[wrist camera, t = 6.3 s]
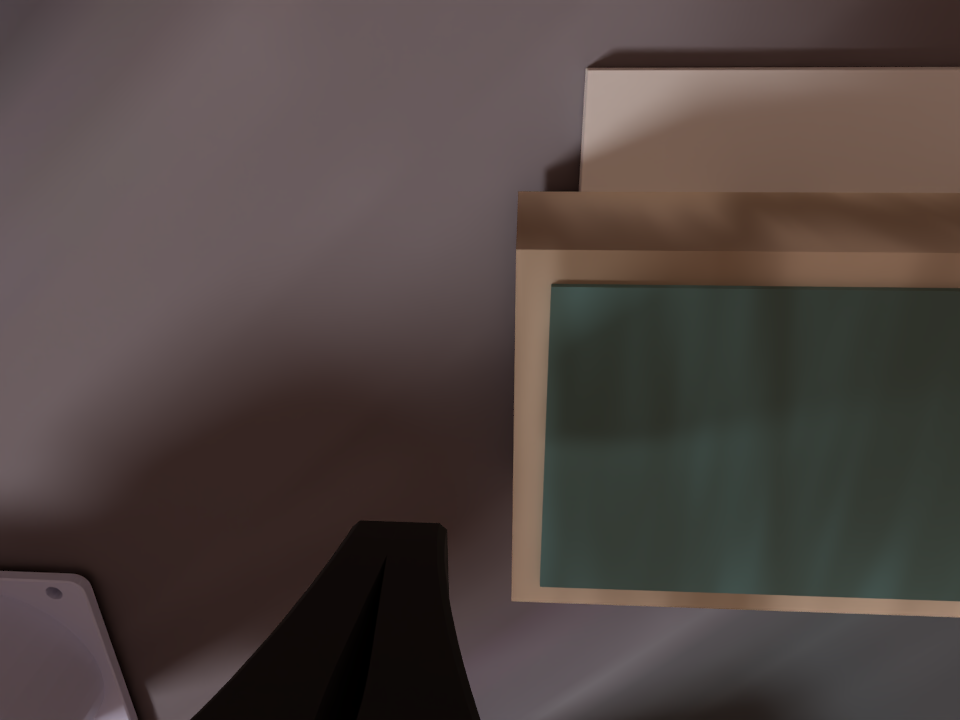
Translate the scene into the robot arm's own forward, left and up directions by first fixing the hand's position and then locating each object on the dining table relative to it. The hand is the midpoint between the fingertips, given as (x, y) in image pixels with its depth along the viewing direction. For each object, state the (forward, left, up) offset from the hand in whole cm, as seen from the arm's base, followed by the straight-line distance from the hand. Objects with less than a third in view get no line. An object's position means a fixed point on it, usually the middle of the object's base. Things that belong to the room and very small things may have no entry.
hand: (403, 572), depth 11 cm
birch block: (+2, 0, -5) cm, 5 cm away
